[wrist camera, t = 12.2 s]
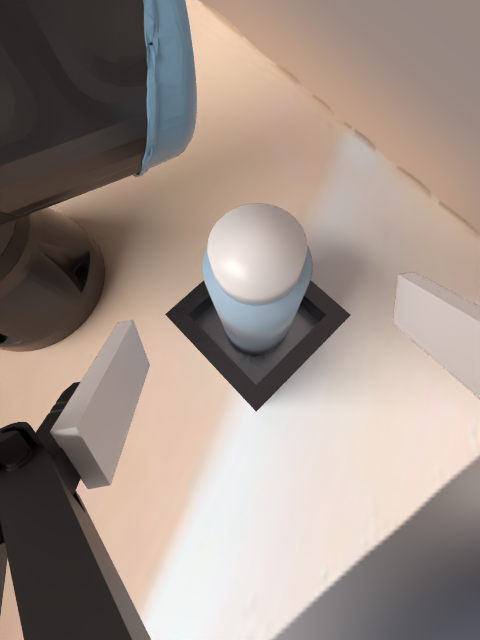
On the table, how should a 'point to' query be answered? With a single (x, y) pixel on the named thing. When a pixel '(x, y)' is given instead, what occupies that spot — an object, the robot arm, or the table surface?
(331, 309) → the square planter pot
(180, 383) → the table surface
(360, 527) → the table surface
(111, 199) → the table surface
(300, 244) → the white-capped blue bottle
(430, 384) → the table surface
